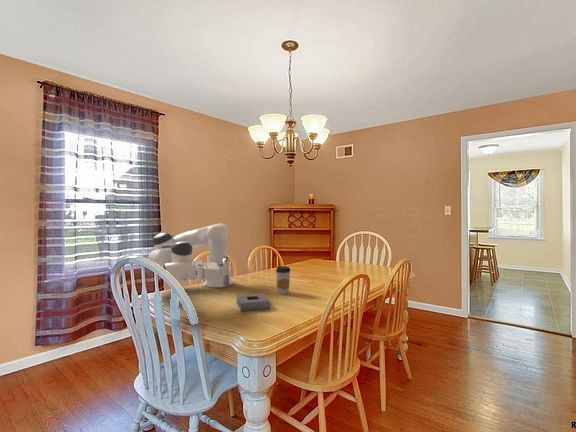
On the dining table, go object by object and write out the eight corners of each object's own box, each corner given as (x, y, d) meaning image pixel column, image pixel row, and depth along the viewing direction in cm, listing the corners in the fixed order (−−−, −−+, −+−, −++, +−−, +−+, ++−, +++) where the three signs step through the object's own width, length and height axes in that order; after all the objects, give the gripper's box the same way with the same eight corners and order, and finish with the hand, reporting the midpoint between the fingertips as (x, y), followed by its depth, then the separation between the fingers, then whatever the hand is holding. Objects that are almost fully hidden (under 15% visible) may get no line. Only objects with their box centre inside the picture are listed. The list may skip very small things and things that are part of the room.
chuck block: (236, 303, 159) (236, 295, 159) (263, 300, 163) (263, 293, 163) (240, 311, 146) (240, 303, 146) (269, 309, 150) (269, 300, 150)
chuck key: (222, 283, 155) (222, 256, 155) (228, 283, 156) (228, 255, 156) (223, 286, 151) (223, 257, 150) (229, 285, 152) (229, 257, 151)
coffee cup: (277, 295, 173) (277, 269, 173) (274, 291, 181) (274, 266, 181) (292, 294, 175) (292, 268, 175) (288, 290, 183) (288, 265, 183)
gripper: (198, 272, 159) (225, 270, 164) (199, 281, 140) (230, 279, 144) (198, 260, 159) (225, 259, 163) (199, 267, 140) (230, 265, 144)
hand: (227, 268), depth 154 cm, fingers closed on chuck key, 3 cm apart
